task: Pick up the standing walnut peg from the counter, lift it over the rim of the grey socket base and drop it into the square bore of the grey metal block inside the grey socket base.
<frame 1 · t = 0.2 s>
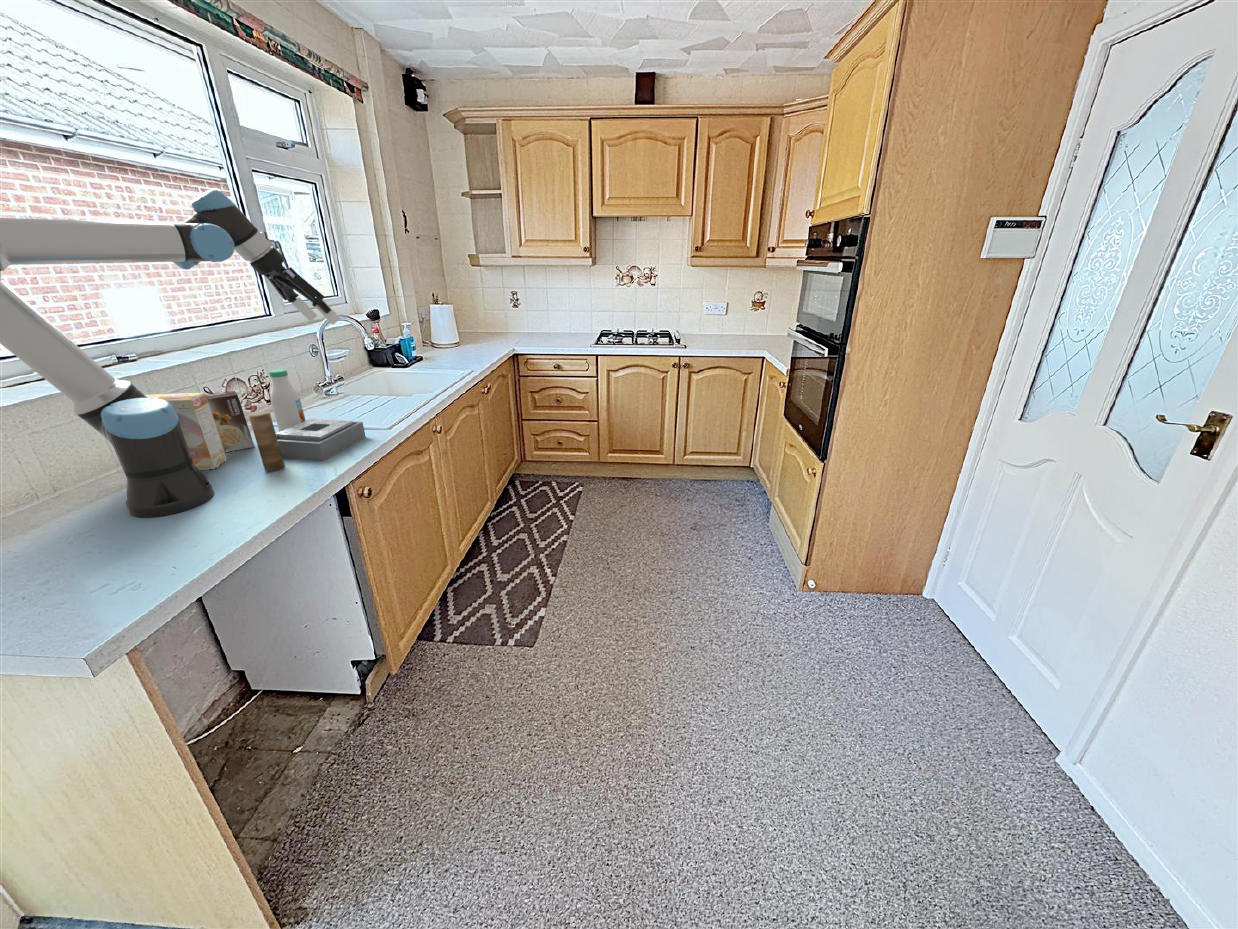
hand: (324, 320, 143), 35 cm above the countertop, tool tilted 35°, fingers open, 13 cm apart
bore block: (317, 435, 147), in the grey socket base, point 4 cm above the countertop
peg: (275, 468, 134), on the countertop
milk bottle: (294, 433, 160), on the countertop
grey socket base: (319, 446, 149), on the countertop
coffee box: (235, 448, 147), on the countertop
coffeecake box: (190, 467, 134), on the countertop
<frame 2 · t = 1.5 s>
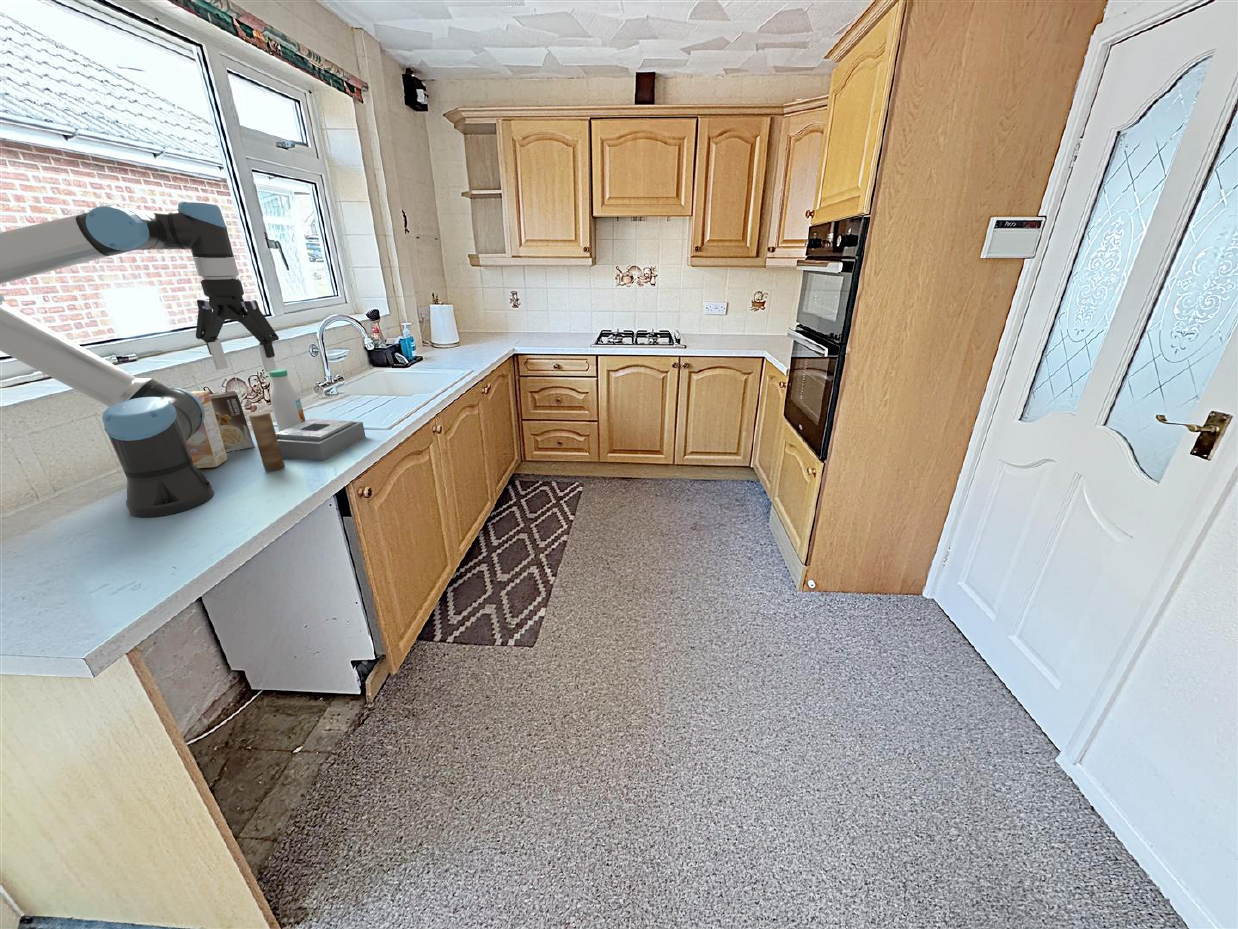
hand: (246, 369, 123), 27 cm above the countertop, tool pointing down, fingers open, 13 cm apart
coffeecake box: (190, 466, 134), on the countertop, touching arm
everything else where it was.
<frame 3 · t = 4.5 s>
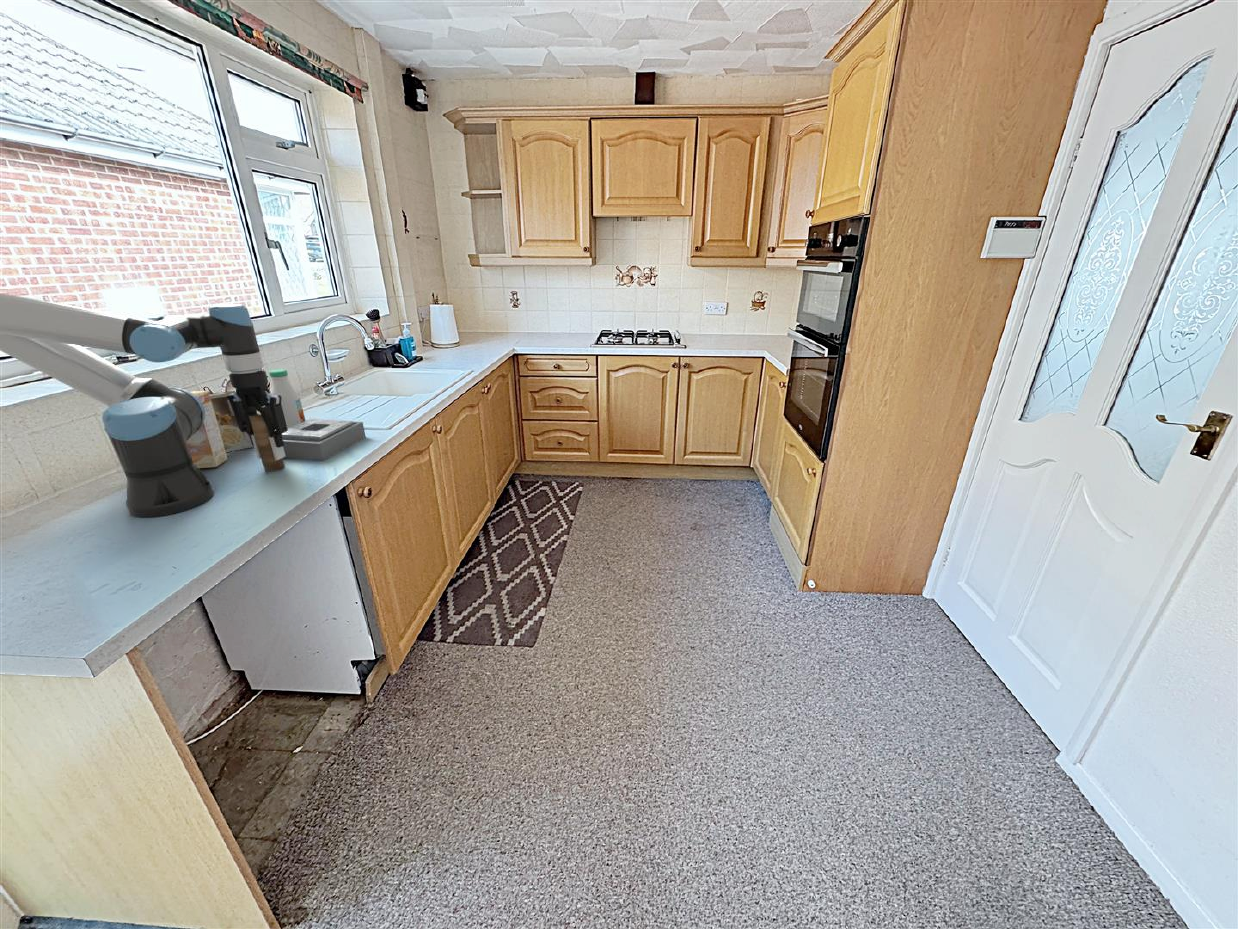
hand: (271, 457, 132), 3 cm above the countertop, tool pointing down, fingers closed on peg, 4 cm apart
peg: (274, 468, 134), on the countertop, touching gripper
everything else where it was.
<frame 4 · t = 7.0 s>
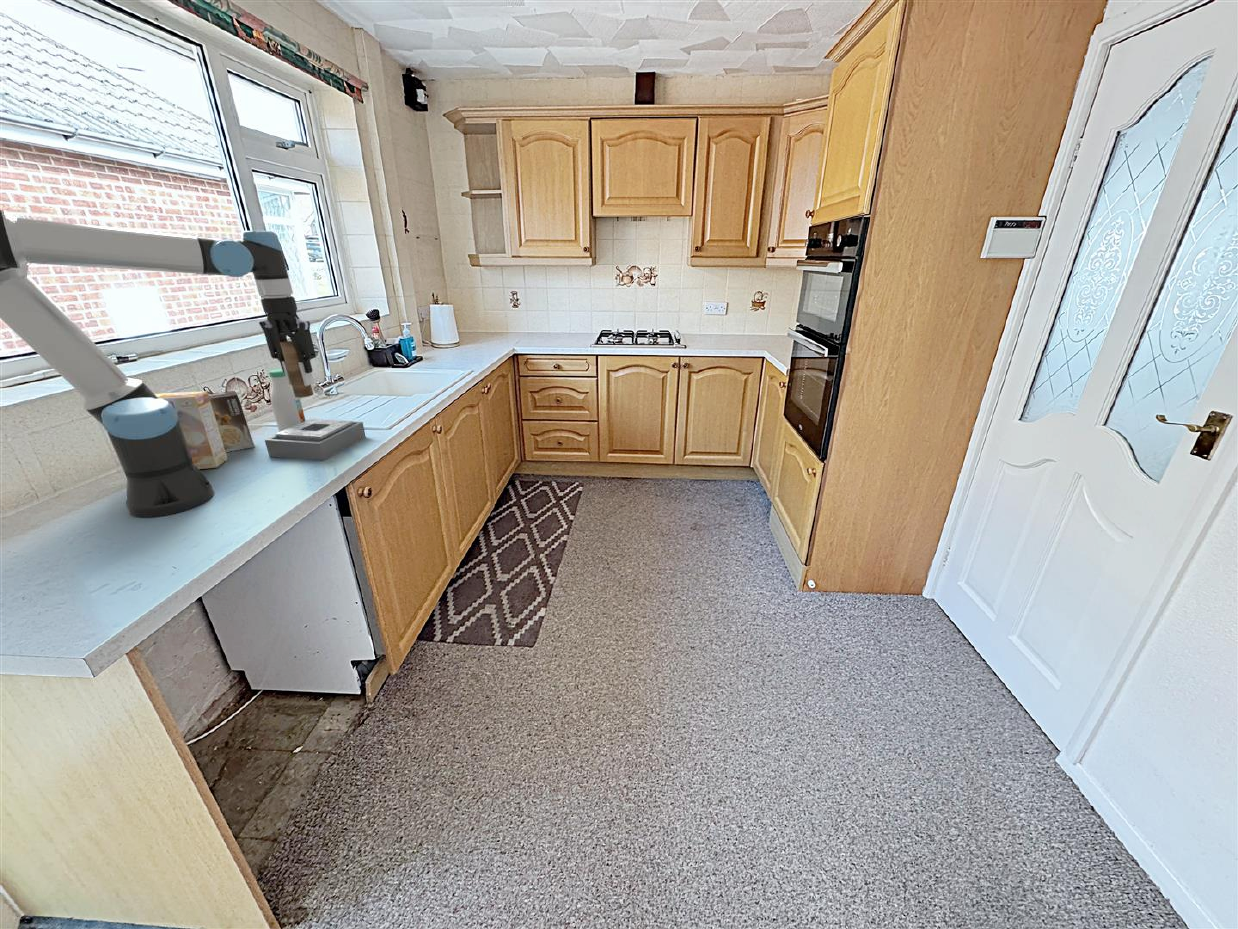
hand: (301, 383, 139), 19 cm above the countertop, tool pointing down, fingers closed on peg, 4 cm apart
peg: (304, 395, 141), point 16 cm above the countertop, touching gripper
coffeecake box: (190, 466, 134), on the countertop
everything else where it was.
when the fingers open (8 cm above the countertop, at t = 9.9 s): peg drops 3 cm, point 1 cm above the countertop.
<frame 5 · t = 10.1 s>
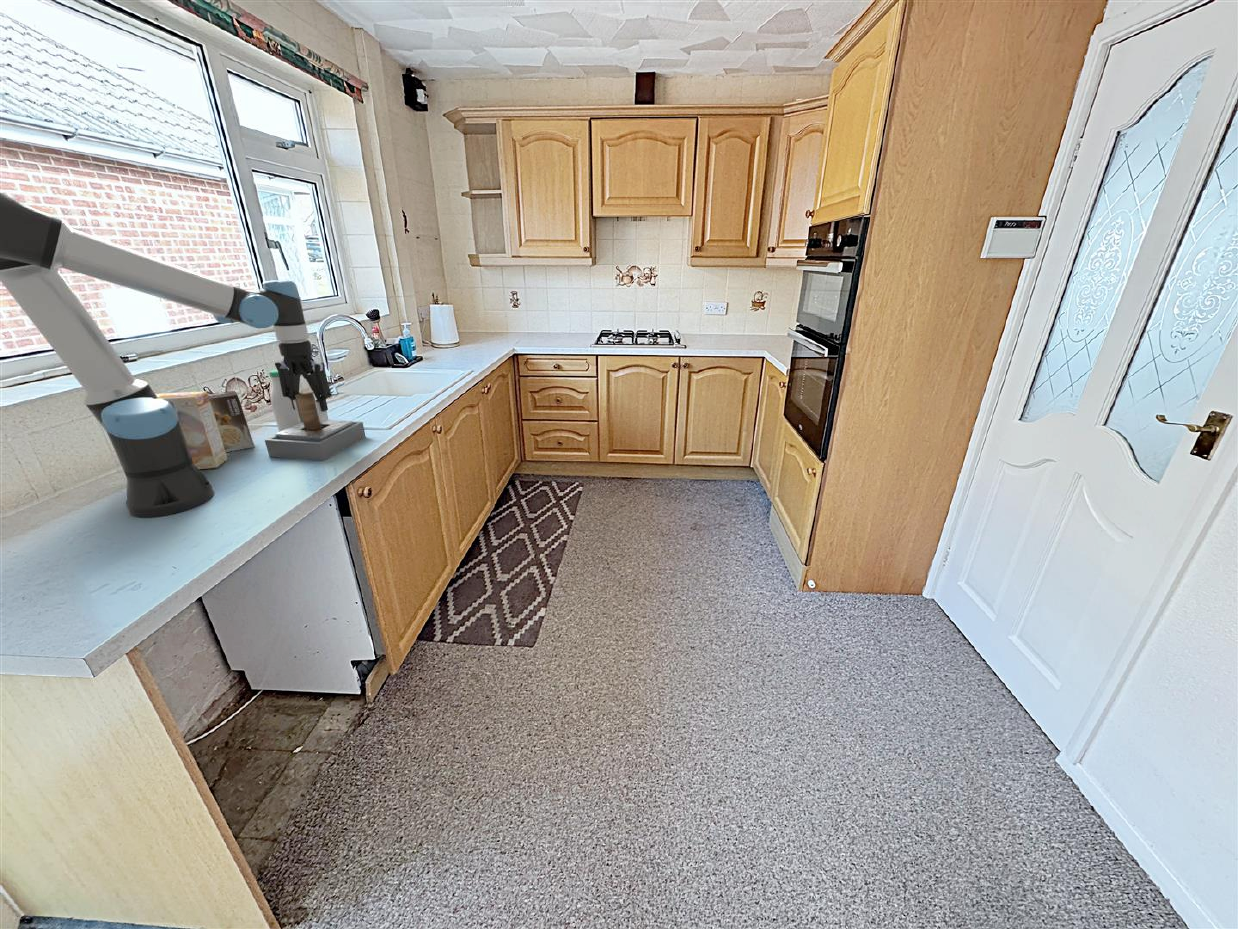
hand: (313, 421, 145), 8 cm above the countertop, tool pointing down, fingers open, 6 cm apart
peg: (318, 442, 148), point 1 cm above the countertop, touching gripper
coffeecake box: (191, 467, 134), on the countertop, touching arm
everything else where it was.
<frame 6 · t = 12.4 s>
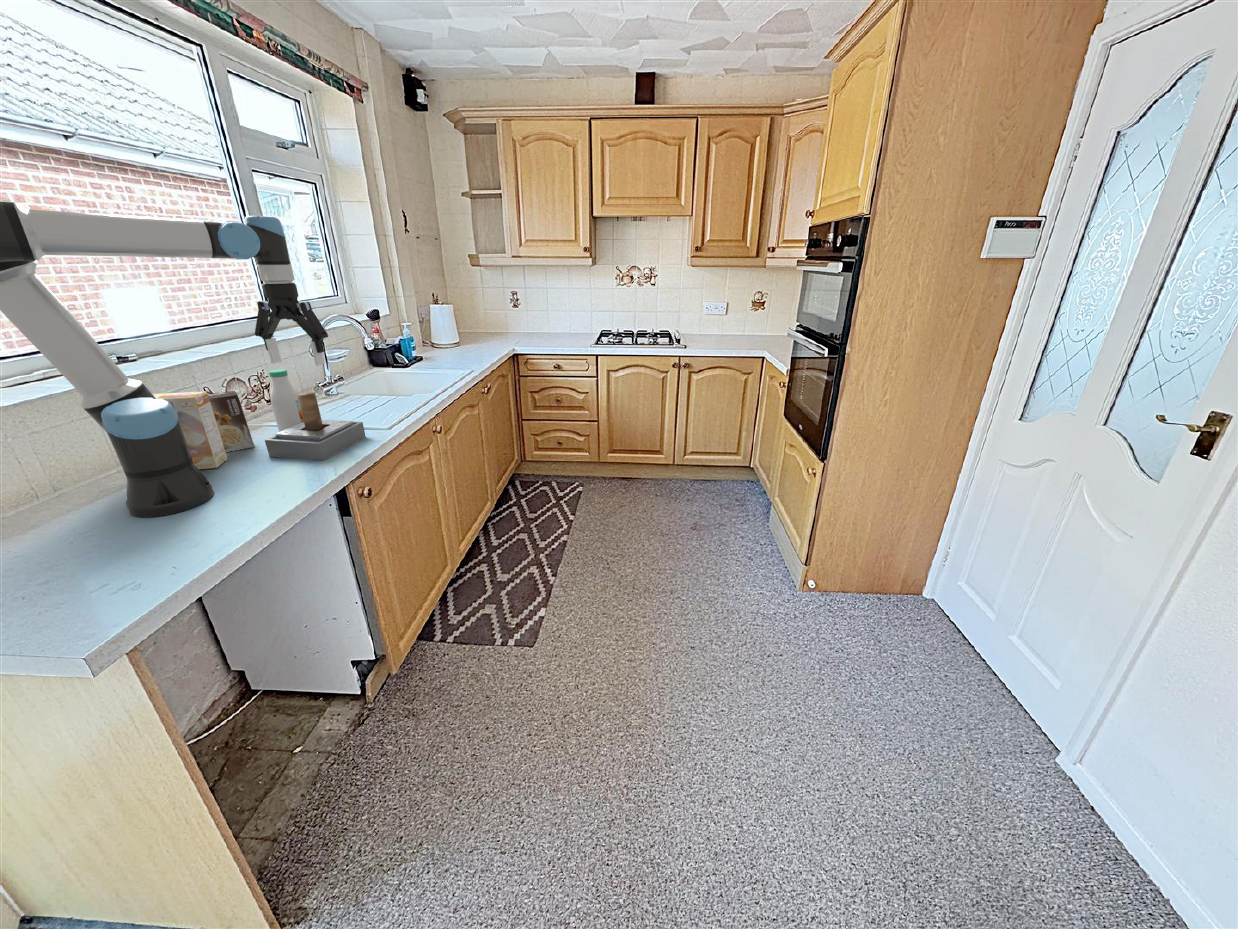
hand: (298, 363, 139), 25 cm above the countertop, tool pointing down, fingers open, 13 cm apart
peg: (318, 443, 148), point 1 cm above the countertop, touching grey socket base
everything else where it was.
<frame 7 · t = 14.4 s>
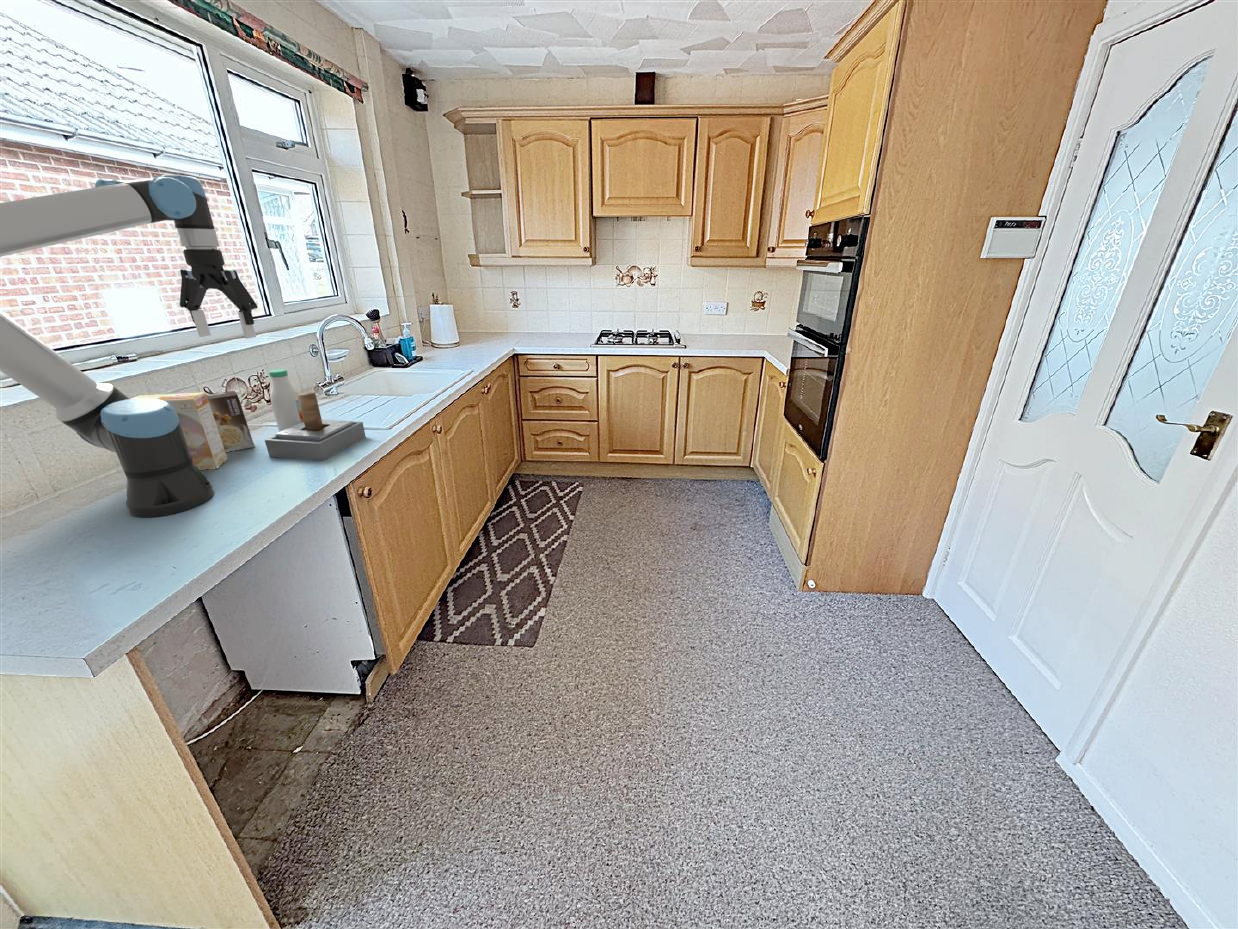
hand: (227, 337, 130), 33 cm above the countertop, tool pointing down, fingers open, 13 cm apart
coffeecake box: (191, 467, 134), on the countertop
everything else where it was.
at the end: peg 0.3 cm off-centre on the bore block, point 1.0 cm above the bore block's base; peg tilted 0°; the gripper is holding nothing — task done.
